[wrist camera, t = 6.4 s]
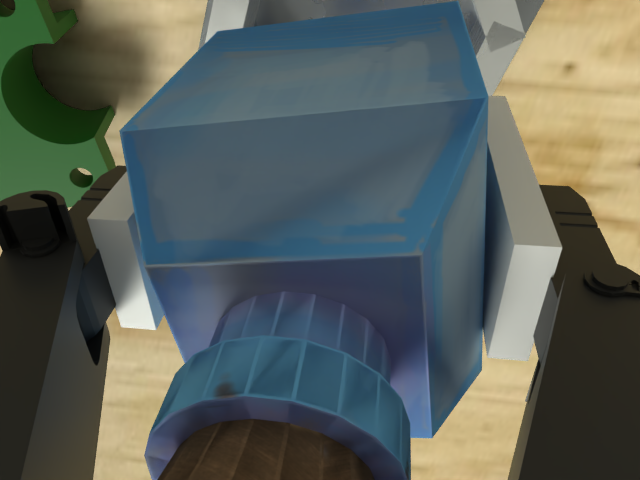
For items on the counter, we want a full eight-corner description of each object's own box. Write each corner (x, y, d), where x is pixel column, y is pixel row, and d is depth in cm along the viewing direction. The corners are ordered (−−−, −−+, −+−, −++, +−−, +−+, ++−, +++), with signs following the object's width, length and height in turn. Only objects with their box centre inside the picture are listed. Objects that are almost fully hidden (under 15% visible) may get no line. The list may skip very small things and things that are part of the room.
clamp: (132, 100, 35) (132, 216, 30) (38, 119, 35) (23, 238, 30) (30, -99, 25) (4, 27, 20) (-103, -73, 25) (-162, 60, 20)
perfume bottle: (265, 224, 18) (104, 663, 8) (217, 31, 15) (-150, 405, 5) (459, 214, 17) (529, 709, 7) (458, 0, 13) (587, 411, 4)
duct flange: (193, 98, 29) (167, 130, 26) (258, -229, 21) (232, -241, 18) (435, 185, 31) (439, 226, 28) (585, -91, 22) (616, -79, 19)
